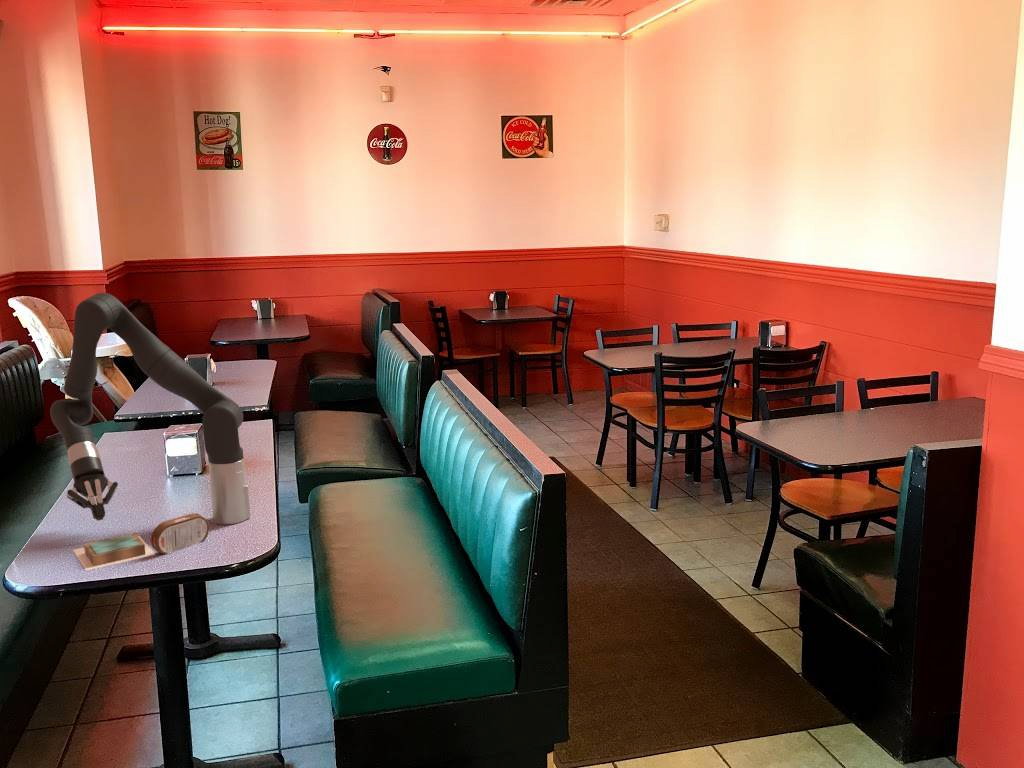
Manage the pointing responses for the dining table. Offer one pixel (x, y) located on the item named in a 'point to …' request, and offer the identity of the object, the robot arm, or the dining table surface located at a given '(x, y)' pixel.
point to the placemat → (88, 565)
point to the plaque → (114, 549)
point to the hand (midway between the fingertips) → (100, 518)
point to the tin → (179, 533)
